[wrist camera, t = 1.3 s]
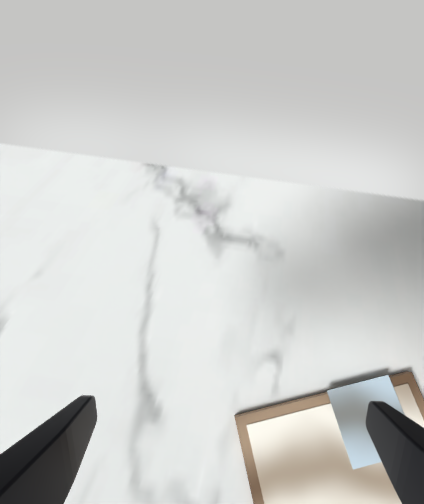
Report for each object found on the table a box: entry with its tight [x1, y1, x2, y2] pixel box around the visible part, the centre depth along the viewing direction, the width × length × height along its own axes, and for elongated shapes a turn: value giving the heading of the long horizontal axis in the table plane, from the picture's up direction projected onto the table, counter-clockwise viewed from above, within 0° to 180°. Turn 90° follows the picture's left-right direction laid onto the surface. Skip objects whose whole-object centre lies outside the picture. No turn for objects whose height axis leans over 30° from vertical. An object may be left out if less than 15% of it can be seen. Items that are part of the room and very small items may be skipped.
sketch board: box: [235, 371, 424, 504], centre depth 19 cm, size 11×16×1 cm
